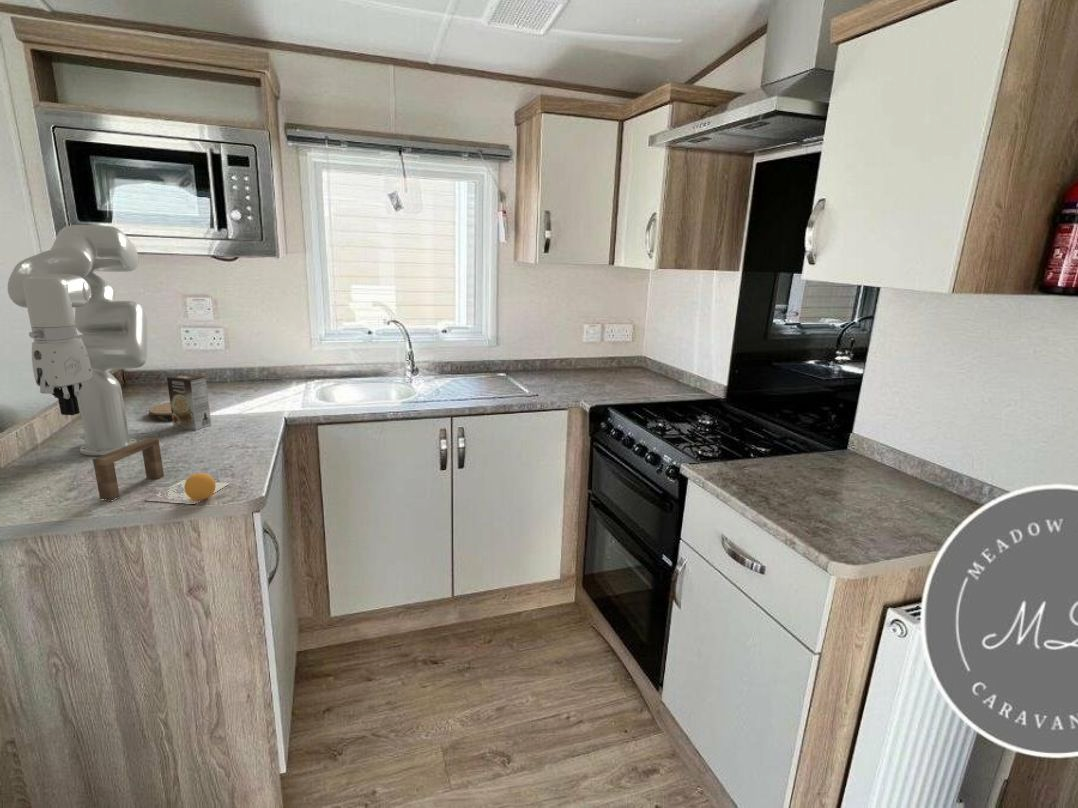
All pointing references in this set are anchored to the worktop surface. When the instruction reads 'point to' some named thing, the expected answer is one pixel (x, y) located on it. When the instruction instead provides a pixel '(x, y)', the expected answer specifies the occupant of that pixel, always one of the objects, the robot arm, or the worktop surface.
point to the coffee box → (189, 401)
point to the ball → (200, 486)
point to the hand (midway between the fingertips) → (70, 413)
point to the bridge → (106, 462)
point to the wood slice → (161, 412)
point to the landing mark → (186, 497)
